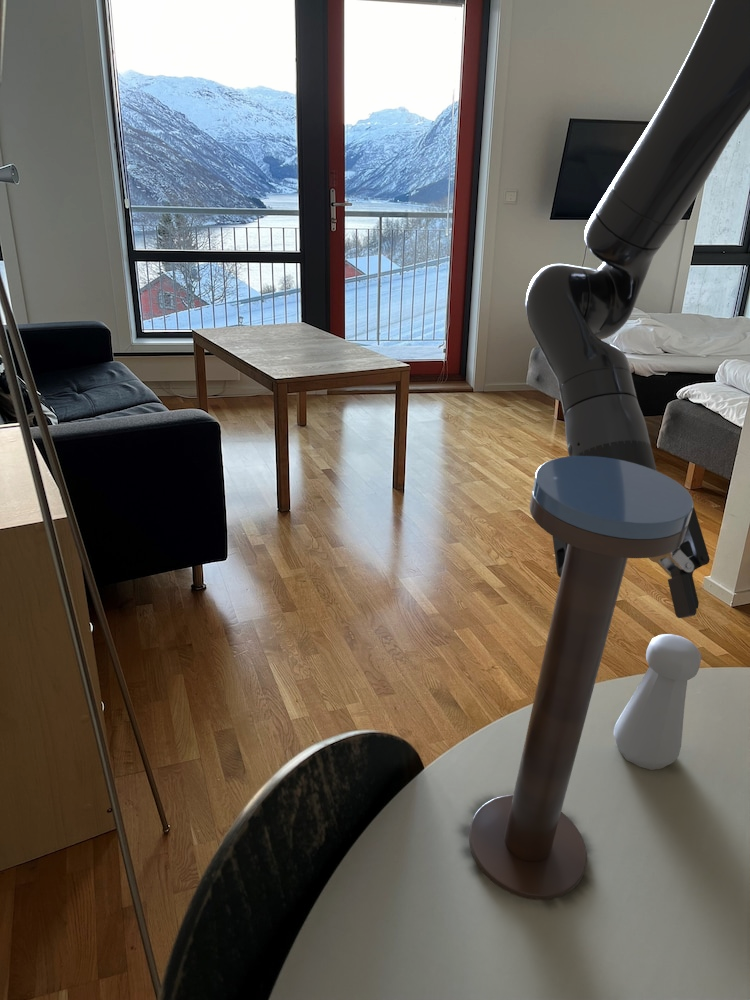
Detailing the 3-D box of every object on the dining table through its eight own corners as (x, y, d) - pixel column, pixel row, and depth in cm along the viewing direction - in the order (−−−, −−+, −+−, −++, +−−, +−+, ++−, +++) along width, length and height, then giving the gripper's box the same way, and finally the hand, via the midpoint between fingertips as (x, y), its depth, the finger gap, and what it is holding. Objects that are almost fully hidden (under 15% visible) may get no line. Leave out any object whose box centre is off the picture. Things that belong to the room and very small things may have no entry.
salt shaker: (597, 755, 68) (629, 642, 62) (625, 724, 71) (658, 615, 66) (658, 793, 64) (698, 676, 58) (684, 758, 68) (724, 646, 62)
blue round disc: (551, 458, 49) (554, 444, 48) (694, 491, 46) (698, 476, 45) (515, 512, 41) (518, 496, 41) (683, 556, 38) (687, 539, 38)
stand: (486, 791, 63) (551, 458, 49) (592, 834, 60) (694, 491, 46) (451, 876, 56) (515, 512, 41) (570, 930, 52) (683, 556, 38)
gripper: (559, 438, 66) (594, 620, 61) (698, 435, 69) (741, 607, 64) (525, 467, 73) (554, 632, 68) (653, 463, 76) (689, 620, 71)
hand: (645, 620), depth 66 cm, fingers open, 8 cm apart
